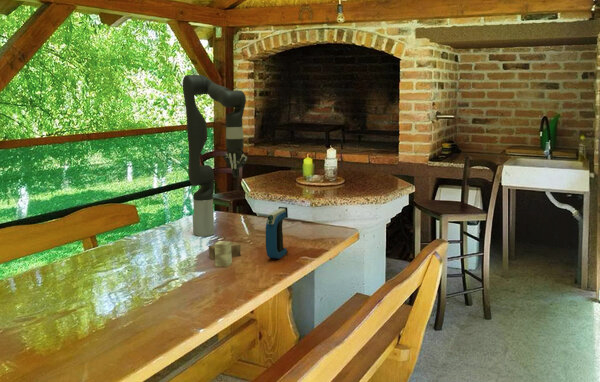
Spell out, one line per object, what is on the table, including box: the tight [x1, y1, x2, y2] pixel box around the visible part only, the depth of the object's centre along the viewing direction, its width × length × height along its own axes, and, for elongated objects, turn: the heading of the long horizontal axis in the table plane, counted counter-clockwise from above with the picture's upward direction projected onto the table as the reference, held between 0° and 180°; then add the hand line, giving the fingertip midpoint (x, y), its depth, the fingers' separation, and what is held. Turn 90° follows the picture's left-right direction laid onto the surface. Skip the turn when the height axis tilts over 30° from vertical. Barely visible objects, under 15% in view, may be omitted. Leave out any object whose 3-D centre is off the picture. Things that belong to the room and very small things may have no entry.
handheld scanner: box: [265, 206, 289, 260], centre depth 259 cm, size 5×16×20 cm, turn 161°
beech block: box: [214, 240, 233, 268], centre depth 249 cm, size 5×5×9 cm
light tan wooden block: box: [208, 241, 241, 261], centre depth 261 cm, size 5×5×12 cm
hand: (235, 177), depth 273 cm, fingers closed
